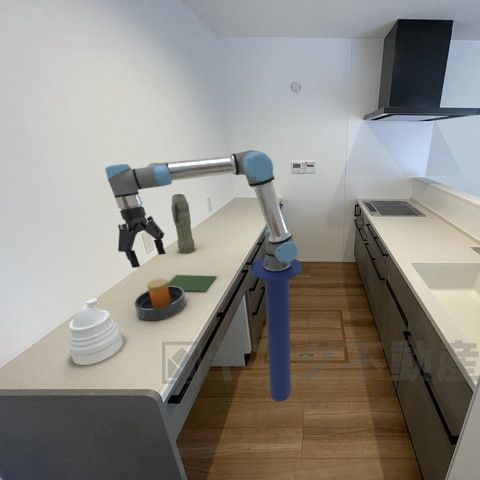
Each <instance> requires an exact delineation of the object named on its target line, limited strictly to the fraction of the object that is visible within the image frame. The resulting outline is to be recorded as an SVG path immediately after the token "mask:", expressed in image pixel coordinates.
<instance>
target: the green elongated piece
mask: <svg viewBox="0 0 480 480" xmlns="http://www.w3.org/2000/svg"><path fill="white" fill-rule="evenodd" d="M170 209H171V213H172V214H171V215H172V219H173V223H174V224H173V225H174V226H175V230H176V235H177V248H178V252H179V253H180V254H182V255H183V254H184V255H185V254H191V253H193V252H195V250H196V249H195V240H194V238H193V233H192V226H191V223H192V221H191V220H192V219H191V213H190V206H189V202H188V201H187V197H186V195H184V194H182V193H175V194H173V195H172V197H171V208H170Z"/></svg>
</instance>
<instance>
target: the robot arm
mask: <svg viewBox="0 0 480 480" xmlns="http://www.w3.org/2000/svg"><path fill="white" fill-rule="evenodd" d="M104 170H105V173H106V178H107V181H108V184H109V186H110V188H111V191H112V193H113V197H114V199H115V202H116V205H117V208H118V209H119V213H120V216H121V219H122V220H123V221H124V222H125V223H119V224H118V225H117V226H118V231H119V232H118V245H117V251H118V252H119V253H125V256H126V259H127V260H128V261H129V263H130V265H131V268H132V269H134V268H135V269H136V268H141V265H140V262H139V259H138V257H137V254H136V252H135V251H136V250H134V249H133V247H134V243H135V240H136V236H137V235H138V233H141V232H145V233H147V234H148V235H150V236H151V237H152V238H153V243H154V246H155V248H156V252H157V254H158V255H160V256H161V255H165V254H166V250H165V248H164V242H163V239H164V236H165V233H164V231H163V230H162V229H161V228H160V227H159V225H158V223H156V221H155V219H154V218H153V216H152V215H150V216H149V215H148V216H147V213H146V210H145V206H143V201H142V198H141V196H140V193H139V190H144V189H152V188H159V187H160V188H161V187H165V186H171V185H172V183H173V181H180V180H186V179H187V180H188V179H195V178H196V179H197V178H204V177H212V176H222V175H230V174H231V175H234V176H245V178H246V180H247V183H248V186H249V188H252V190H254V193H255V196H256V198H257V201H258V204H259V207H260V210H261V213H262V216H263V218H264V221H265V225H266V227H267V228H265V230H264V243H265V255H264V257H263V258H264V263H263V268H264V269H265V270H266V271H268V272H283V271H286V270H288V269H289V268H292V267H290V261H292V260H294V259H297V256H298V254H299V246H298V244H297V243H296V242H295V240H294V237H293V235H292V231H290V229H288V228H287V225H286V221H285V219H284V216H283V212H282V210H281V206H280V203H279V200H278V196H277V194H276V190H275V187H274V182H275V180H276V179H275V178H276V177H275V175H274V163H273V161H272V159H271V158H270V156H268V154H266V153H264V152H263V151H259V150H252V149H250V150H245V151H242V152H235V153H230V154H229V155H228V156H220V157H219V156H218V157H209V158H199V159H190V160H179V161H178V160H177V161H168V162H151V163H149V164H148V165H146V167H145V166H144V167H139V168H132V167H131V166H130V164H128V163H120V164H111V165H107V166H106V167H105V169H104Z"/></svg>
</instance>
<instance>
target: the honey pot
mask: <svg viewBox="0 0 480 480" xmlns="http://www.w3.org/2000/svg"><path fill="white" fill-rule="evenodd" d="M85 303H86V305H83V306H81V307H80V308H79V309H78V310H77V311H76V313H75V314H74V317H73V319H72V320H71V321H70V322H69V324H68V329H69V330H70V332H69V335H68V337H69V339H68V344H67V348H68V352H69V354H70V356H71V358H72V361H73V363H74V364H76V365H79V366H87V365H88V366H89V365H93V364H98V363H100V362H103V361H104V360H107V359H109V358H110V357H112V356H113V355H115V354H117V352H118V351H119V350H120V349H121V348H122V346H123V345H124V340H123V336H122V333H121V330H120V327H119V326H118V325H117V324H116V323H115V322H114V320H113V319H112V318H110V317H111V313H110V311H108V310H105V309H99V308H97V307H95V306H96V305H97V304H98V298H96V297H95V298H90V299H88V300H86V301H85Z"/></svg>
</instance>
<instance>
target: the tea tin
mask: <svg viewBox="0 0 480 480" xmlns="http://www.w3.org/2000/svg"><path fill="white" fill-rule="evenodd" d="M168 283H169V282H168V279H166V278H155V279H152V280H150V281H149V282H148V283H147V284H146V285H147V286H146V287H147V289H148V291H149V294H150V298H151V302H152V307H153V309H155V308H161V307H164V306H167V305H170V304H171V299H170V294H169V289H168Z"/></svg>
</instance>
